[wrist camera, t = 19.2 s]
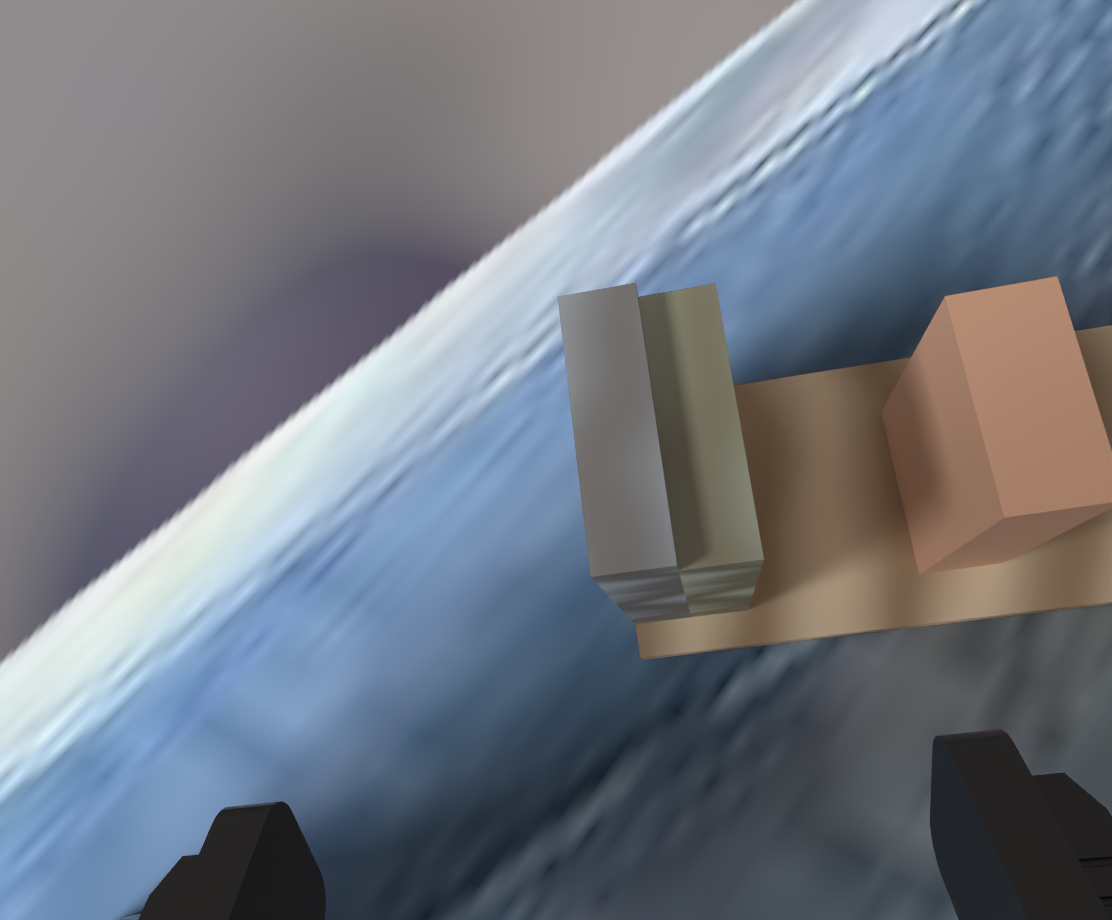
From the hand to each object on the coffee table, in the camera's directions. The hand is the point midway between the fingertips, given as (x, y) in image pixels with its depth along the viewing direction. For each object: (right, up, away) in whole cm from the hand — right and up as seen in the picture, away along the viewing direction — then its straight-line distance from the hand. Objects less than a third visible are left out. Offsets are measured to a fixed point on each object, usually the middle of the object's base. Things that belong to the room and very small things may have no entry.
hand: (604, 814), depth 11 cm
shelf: (+15, +3, +30) cm, 33 cm away
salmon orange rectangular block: (+16, +3, +28) cm, 33 cm away
